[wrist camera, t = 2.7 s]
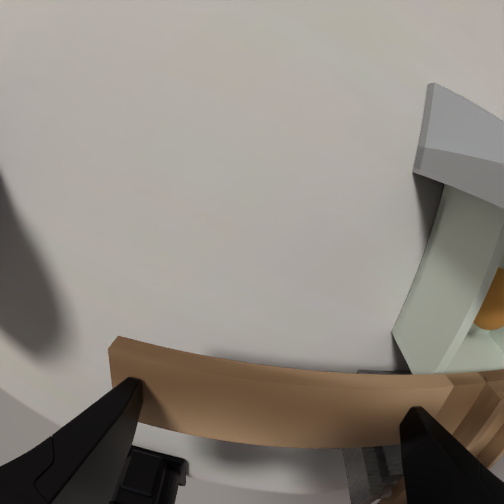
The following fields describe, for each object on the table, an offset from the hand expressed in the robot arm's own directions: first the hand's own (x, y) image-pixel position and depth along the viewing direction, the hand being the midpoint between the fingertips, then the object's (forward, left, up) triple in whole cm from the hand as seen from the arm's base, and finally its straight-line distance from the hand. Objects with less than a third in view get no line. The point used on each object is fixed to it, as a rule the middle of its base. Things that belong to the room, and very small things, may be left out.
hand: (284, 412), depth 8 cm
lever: (-8, -4, 0) cm, 9 cm away
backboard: (+9, -10, -6) cm, 15 cm away
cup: (+3, -11, -6) cm, 13 cm away
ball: (+3, -11, -4) cm, 12 cm away
